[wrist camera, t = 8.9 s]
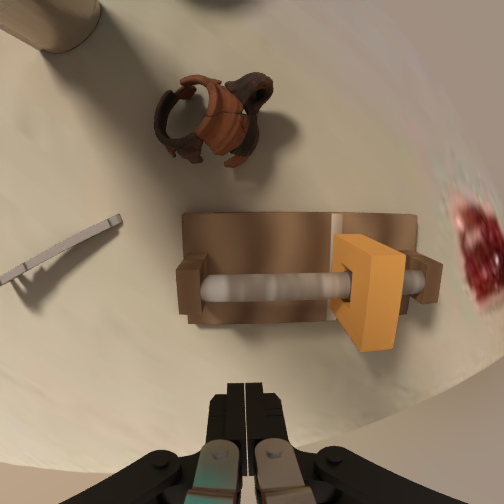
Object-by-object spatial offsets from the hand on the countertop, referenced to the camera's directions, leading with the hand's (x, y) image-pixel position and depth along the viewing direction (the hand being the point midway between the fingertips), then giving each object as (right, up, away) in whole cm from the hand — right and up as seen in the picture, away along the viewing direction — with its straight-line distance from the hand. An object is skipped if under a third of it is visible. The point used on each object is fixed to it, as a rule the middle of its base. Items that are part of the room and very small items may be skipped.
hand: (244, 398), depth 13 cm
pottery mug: (-3, +20, +19) cm, 28 cm away
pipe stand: (+6, +5, +22) cm, 24 cm away
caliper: (-24, +7, +21) cm, 32 cm away
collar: (+10, +4, +20) cm, 23 cm away
